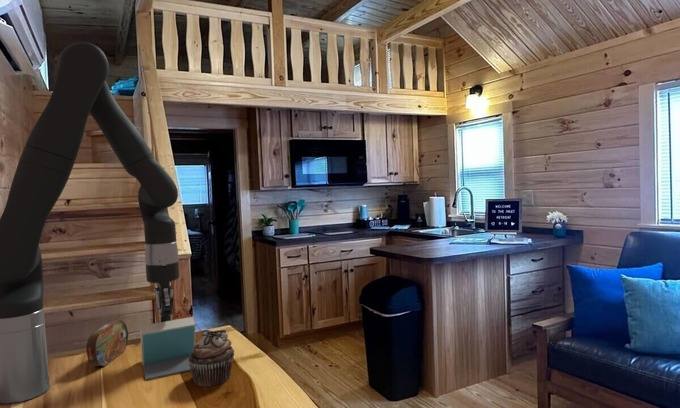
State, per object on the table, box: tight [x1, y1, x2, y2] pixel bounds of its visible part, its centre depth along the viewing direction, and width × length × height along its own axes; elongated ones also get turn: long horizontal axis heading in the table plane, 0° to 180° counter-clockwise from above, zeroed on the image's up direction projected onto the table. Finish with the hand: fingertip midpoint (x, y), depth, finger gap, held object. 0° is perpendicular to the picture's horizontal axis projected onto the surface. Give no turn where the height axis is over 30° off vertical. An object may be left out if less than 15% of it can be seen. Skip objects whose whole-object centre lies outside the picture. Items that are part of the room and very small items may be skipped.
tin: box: [85, 320, 129, 367], centre depth 111 cm, size 15×3×8 cm, turn 179°
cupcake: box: [188, 329, 235, 387], centre depth 98 cm, size 10×10×10 cm
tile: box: [139, 316, 196, 366], centre depth 109 cm, size 12×4×9 cm, turn 117°
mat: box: [142, 355, 191, 381], centre depth 105 cm, size 12×8×1 cm
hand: (166, 330), depth 111 cm, fingers closed
